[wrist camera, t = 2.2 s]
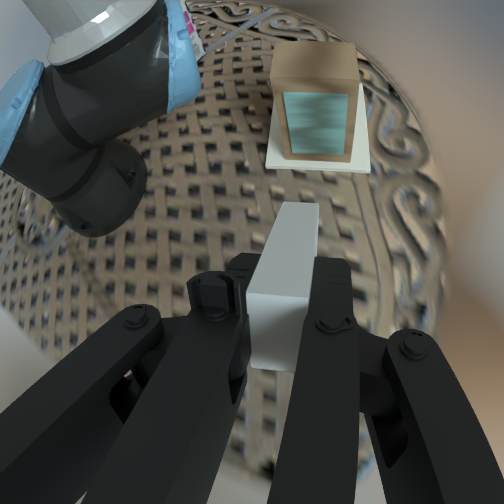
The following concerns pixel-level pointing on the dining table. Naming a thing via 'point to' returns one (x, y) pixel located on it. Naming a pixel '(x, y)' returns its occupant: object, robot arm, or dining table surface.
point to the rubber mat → (357, 163)
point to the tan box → (316, 98)
